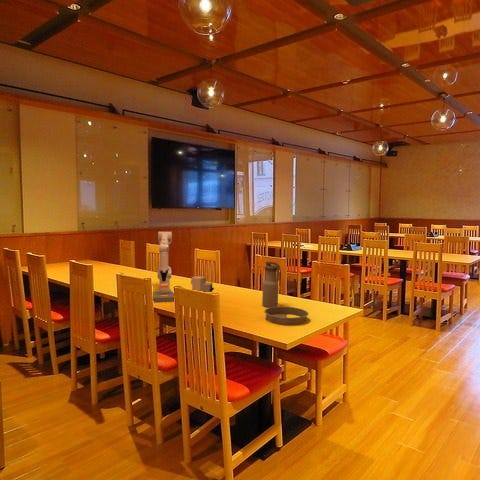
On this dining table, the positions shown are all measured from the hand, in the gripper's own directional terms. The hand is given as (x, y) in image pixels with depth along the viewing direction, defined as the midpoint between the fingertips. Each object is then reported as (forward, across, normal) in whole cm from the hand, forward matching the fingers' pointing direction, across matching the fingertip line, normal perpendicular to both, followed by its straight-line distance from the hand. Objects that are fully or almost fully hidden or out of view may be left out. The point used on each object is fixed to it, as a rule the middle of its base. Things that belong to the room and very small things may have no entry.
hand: (163, 281), depth 272 cm
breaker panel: (+10, +8, 0) cm, 13 cm away
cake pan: (+11, +66, +65) cm, 93 cm away
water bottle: (+11, +36, +65) cm, 75 cm away
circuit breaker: (+11, +14, +25) cm, 31 cm away
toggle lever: (+6, +6, 0) cm, 9 cm away
